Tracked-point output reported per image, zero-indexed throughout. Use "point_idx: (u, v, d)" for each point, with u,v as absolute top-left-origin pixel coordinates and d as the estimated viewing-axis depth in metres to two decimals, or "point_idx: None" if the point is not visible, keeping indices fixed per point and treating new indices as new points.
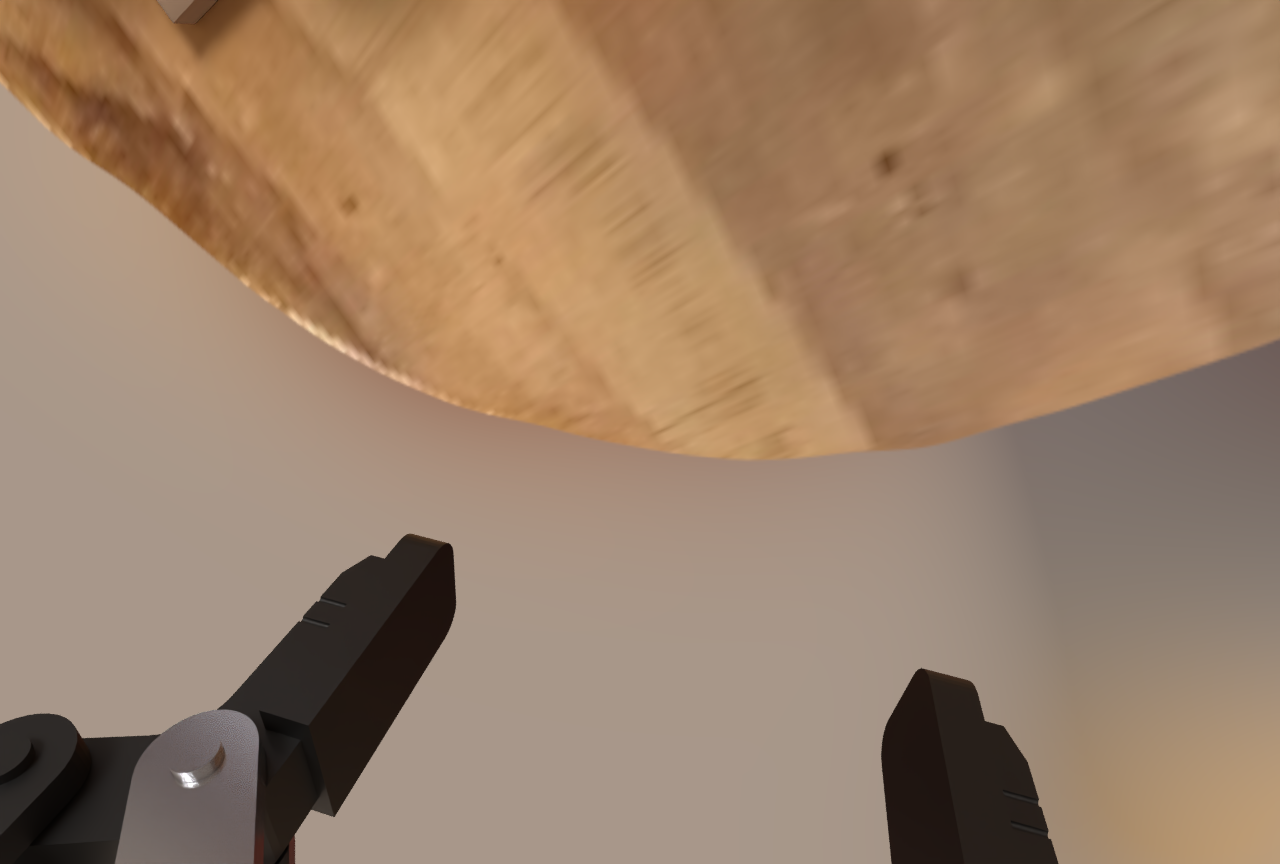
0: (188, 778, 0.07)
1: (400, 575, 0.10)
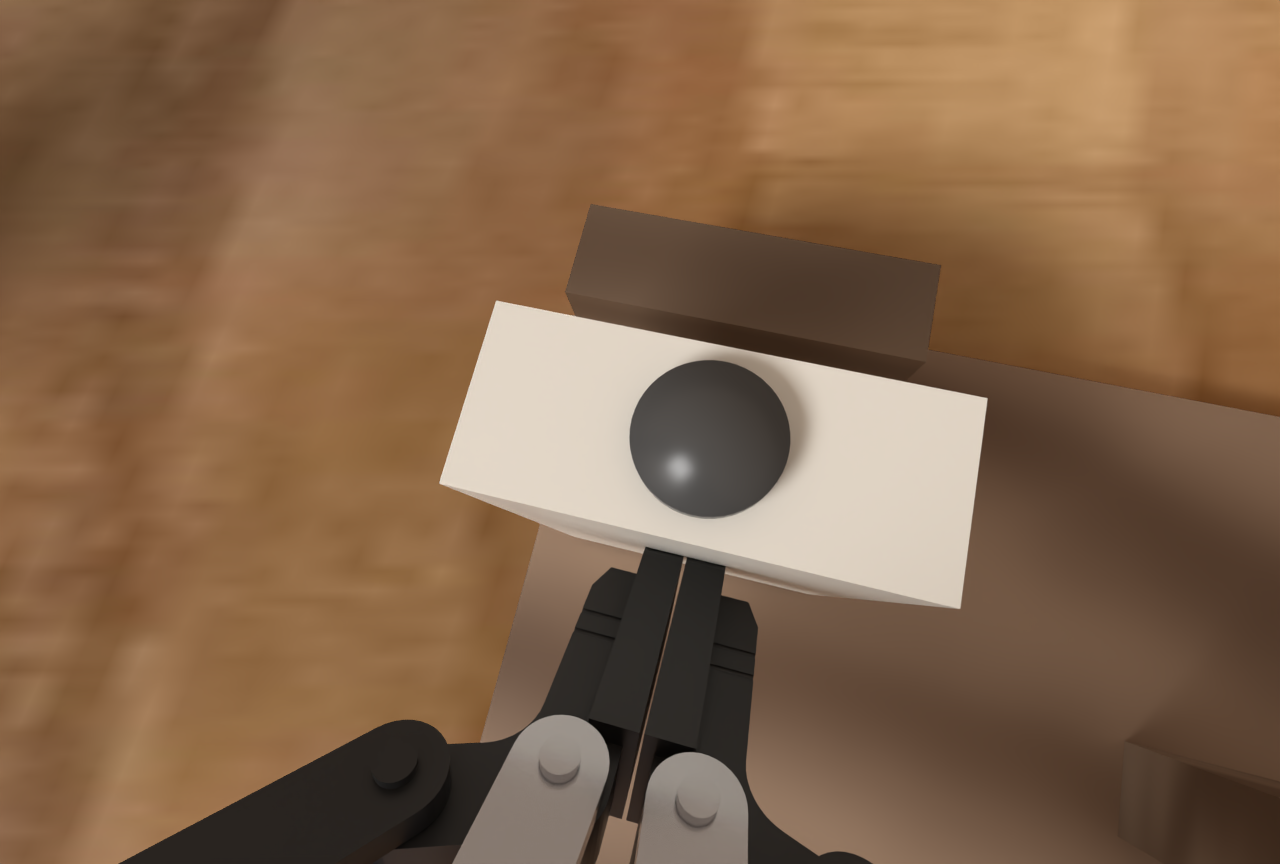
0: (563, 783, 0.07)
1: (658, 587, 0.10)
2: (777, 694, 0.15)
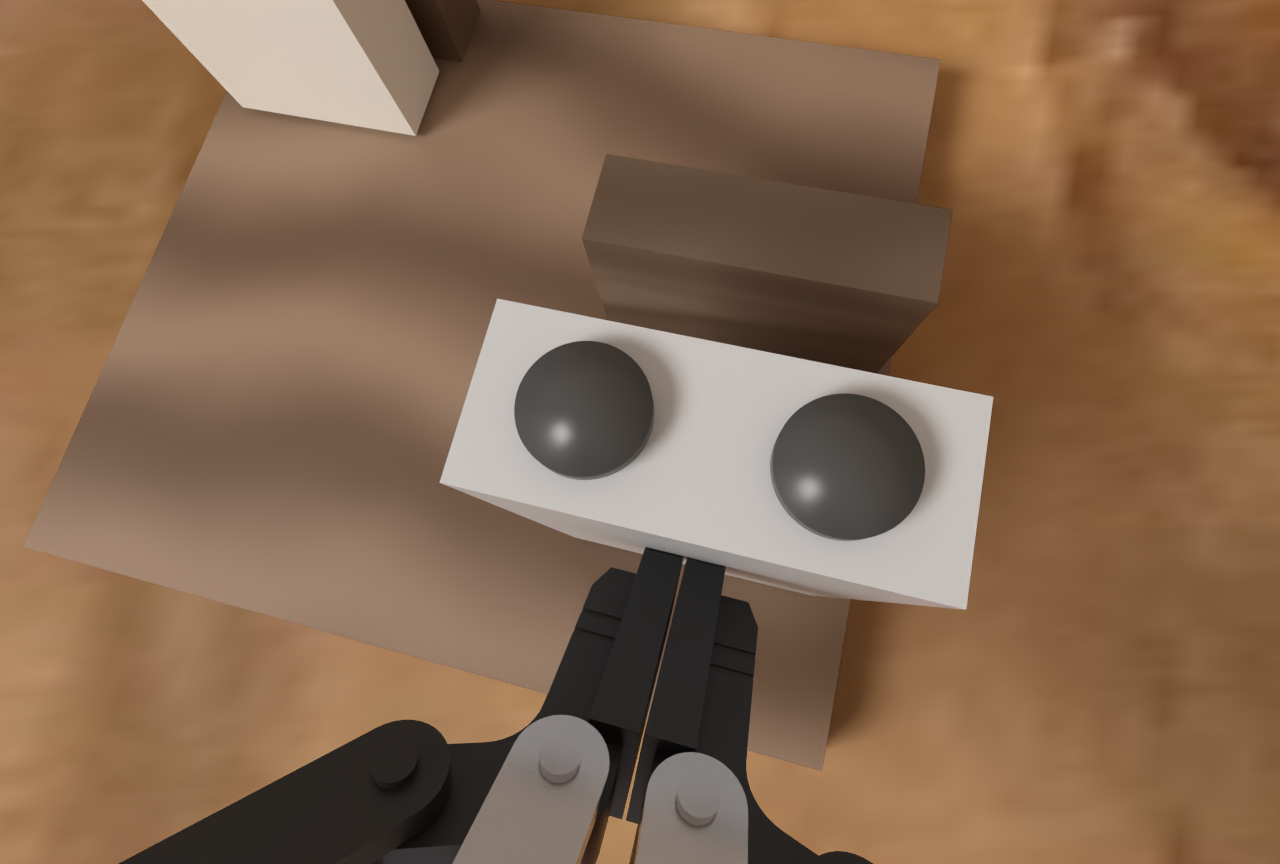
0: (562, 783, 0.07)
1: (658, 587, 0.10)
2: (369, 251, 0.19)
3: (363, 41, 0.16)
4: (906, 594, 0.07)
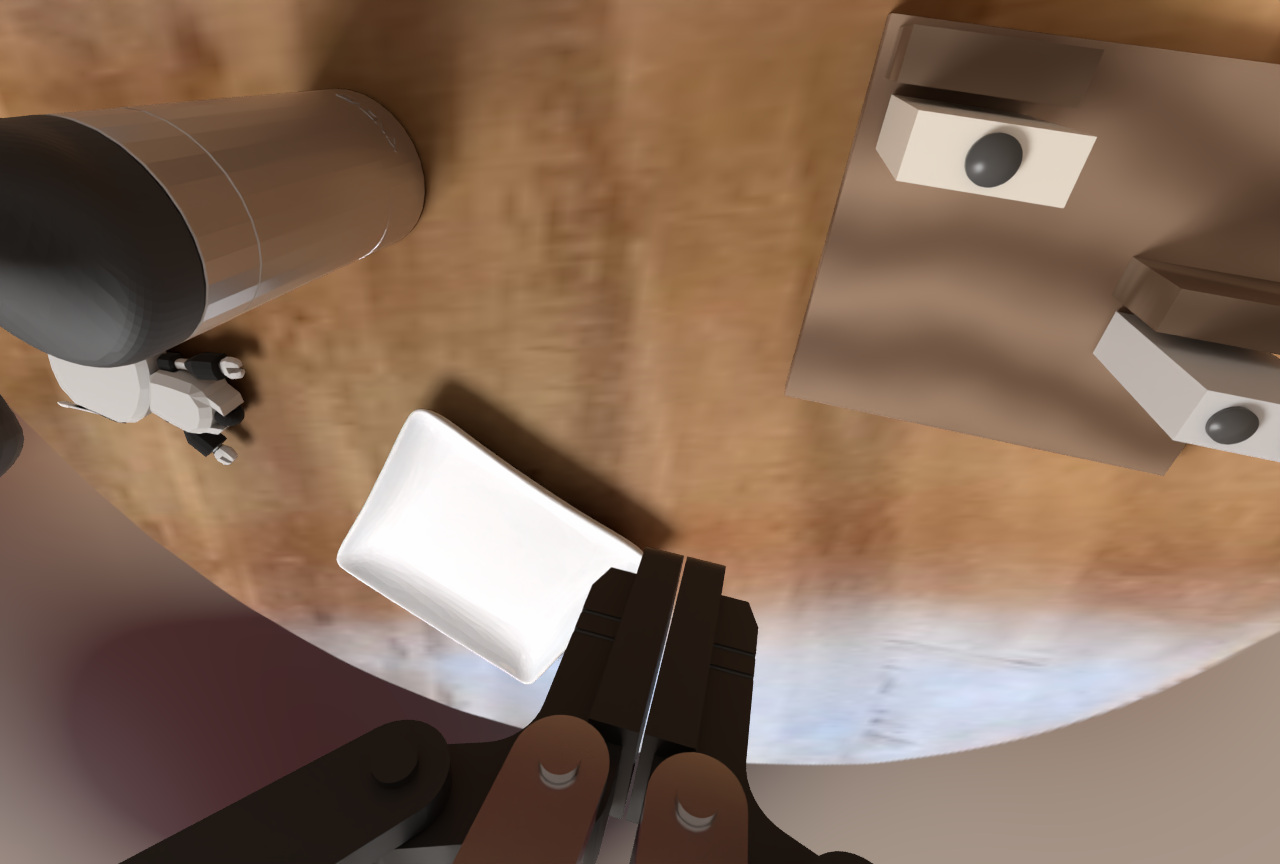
0: (562, 783, 0.07)
1: (658, 587, 0.10)
2: (963, 247, 0.33)
3: None
4: None
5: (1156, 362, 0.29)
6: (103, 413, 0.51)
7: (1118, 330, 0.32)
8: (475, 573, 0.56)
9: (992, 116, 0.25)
